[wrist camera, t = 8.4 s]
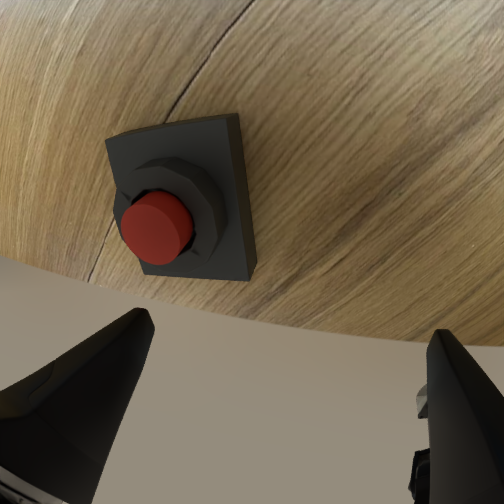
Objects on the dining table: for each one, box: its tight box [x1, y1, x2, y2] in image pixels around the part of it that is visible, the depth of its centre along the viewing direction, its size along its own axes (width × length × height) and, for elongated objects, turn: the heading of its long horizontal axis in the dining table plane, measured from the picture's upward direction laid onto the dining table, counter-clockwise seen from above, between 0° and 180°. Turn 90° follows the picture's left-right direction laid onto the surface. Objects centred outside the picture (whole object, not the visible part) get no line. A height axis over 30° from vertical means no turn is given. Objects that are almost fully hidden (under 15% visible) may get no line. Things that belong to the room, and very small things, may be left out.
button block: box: [105, 113, 257, 281], centre depth 18 cm, size 10×8×4 cm
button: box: [121, 191, 193, 265], centre depth 16 cm, size 4×4×2 cm
